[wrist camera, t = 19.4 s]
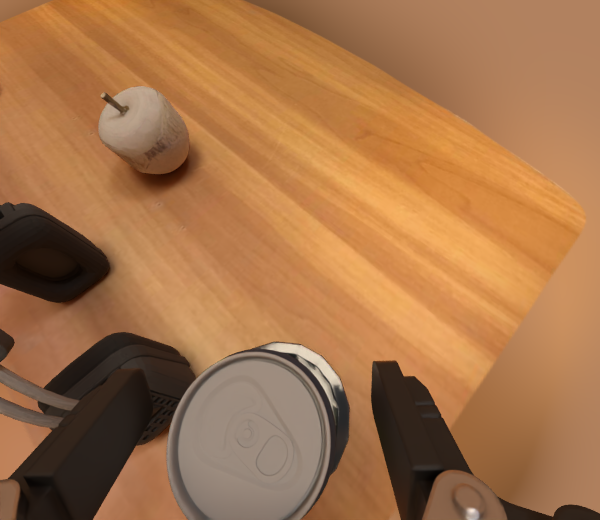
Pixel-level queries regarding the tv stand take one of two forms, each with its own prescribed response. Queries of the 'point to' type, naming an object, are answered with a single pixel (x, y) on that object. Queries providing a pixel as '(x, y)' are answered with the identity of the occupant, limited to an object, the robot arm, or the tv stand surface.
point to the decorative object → (144, 130)
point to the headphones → (63, 287)
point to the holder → (328, 382)
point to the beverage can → (251, 440)
